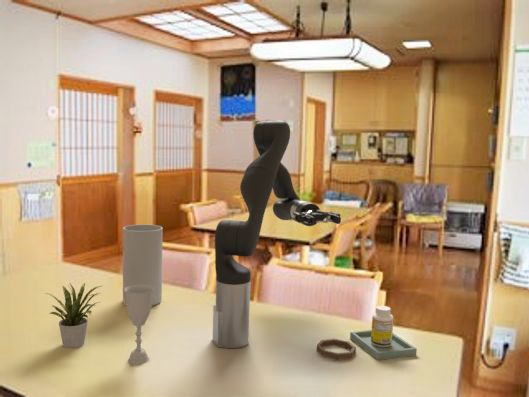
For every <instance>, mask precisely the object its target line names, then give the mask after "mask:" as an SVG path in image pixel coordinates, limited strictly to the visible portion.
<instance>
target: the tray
mask: <svg viewBox="0 0 529 397" xmlns="http://www.w3.org/2000/svg"><path fill="white" fill-rule="evenodd" d="M371 333H372V329H368V330H359V331H357V330H356V331H350V333H349V338H350V340H352V341H353V342H354V343H356V344H357V345H358V346H360V347H361V348H362V349H363V350H365V352H367V353H369V354H370V356H372V357H373V358H374V359H376V360H378V361H381V360H389V359H397V358H404V357H405V358H406V357H413V356H417V352H418V350H417V348H416V347H415V346H413V345H412V344H411V343H409V342H408V341H406V340H405V339H403V338H402V337H400V336H398V335H396V334H395V333H393V332H392V344H391V346H389V347H378V346H375V345H373V344H372V342H371Z"/></svg>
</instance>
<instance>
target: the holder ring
mask: <svg viewBox="0 0 529 397" xmlns="http://www.w3.org/2000/svg"><path fill="white" fill-rule="evenodd" d="M329 346H337V347H342V348H346V349H347V350H348V352H347V351H346V352H333V351H330V350H325V348H323V347H329ZM316 352H317V353H318V354H320V356H321V357H322V358H327V359H330V360H335V361H344V360H350V359H353V358H354V356H355V354H356V353H357V347H356V346H355V345H354V344H352V343H351V342H350V341H349V340H343V339H339V338H329V339H321V340H320V341H319V342H318V343H316Z"/></svg>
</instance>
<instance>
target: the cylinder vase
mask: <svg viewBox="0 0 529 397" xmlns="http://www.w3.org/2000/svg"><path fill="white" fill-rule="evenodd" d="M122 228H123V229H122V302H123V304H125V306H127V294H126V292H125V290H124V289H125V288H126V287H128V286H131V285H136V284H146V285H151V286H153V287H154V289H153V291H152V294H151V307H153V306H156V305H158V304H160V303H161V302H162V297H163V296H162V295H163V292H162V291H163V289H162V288H163V285H162V284H163V229H164V228H163V227H162V226H161V225H156V224H131V225H130V224H129V225H126V226H123V227H122Z"/></svg>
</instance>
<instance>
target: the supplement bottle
mask: <svg viewBox="0 0 529 397" xmlns="http://www.w3.org/2000/svg"><path fill="white" fill-rule="evenodd" d="M391 310H392V309H391V307H389V306H387V305H376V307H375V312H374V313H372V318H371V330H372V333H371V342H372V344H373V345H375V346H378V347H389V346H391V344H392V333H393V329H394V327H393V326H394V316H393V314H392V311H391Z"/></svg>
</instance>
